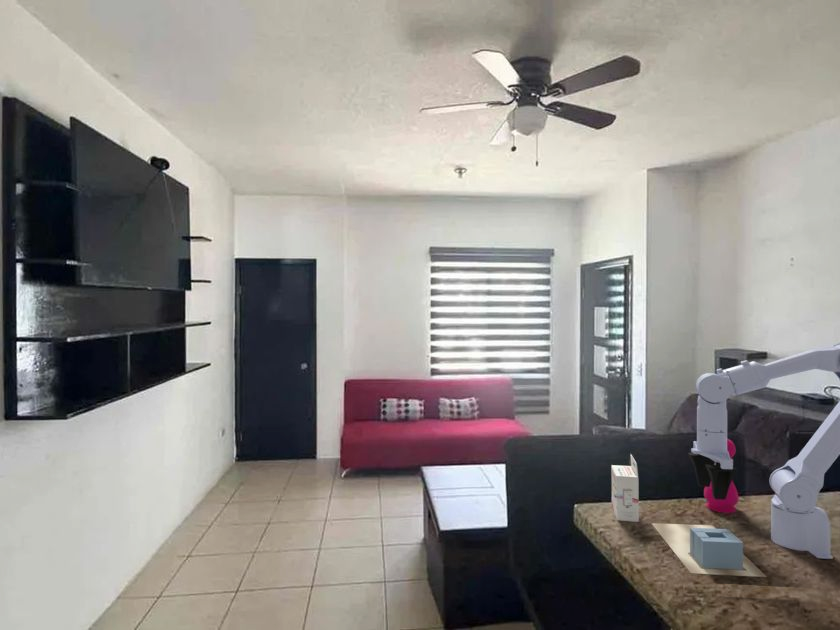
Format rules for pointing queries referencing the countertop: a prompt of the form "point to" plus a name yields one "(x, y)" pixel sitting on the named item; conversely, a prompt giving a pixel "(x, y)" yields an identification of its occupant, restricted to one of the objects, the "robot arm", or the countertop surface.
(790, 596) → the countertop surface
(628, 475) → the ink cartridge box
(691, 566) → the base plate
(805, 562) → the countertop surface
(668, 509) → the countertop surface
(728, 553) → the block
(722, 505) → the pepper mill
